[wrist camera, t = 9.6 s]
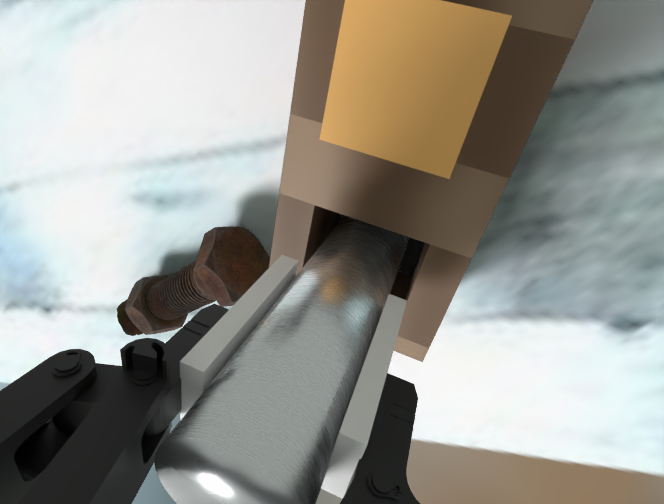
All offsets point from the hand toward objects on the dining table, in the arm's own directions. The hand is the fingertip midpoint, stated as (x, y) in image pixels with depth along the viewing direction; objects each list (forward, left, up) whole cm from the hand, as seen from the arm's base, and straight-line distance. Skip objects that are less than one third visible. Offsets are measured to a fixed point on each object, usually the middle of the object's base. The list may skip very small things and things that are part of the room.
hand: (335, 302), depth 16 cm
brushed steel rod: (0, 0, -8) cm, 8 cm away
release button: (0, +9, -7) cm, 11 cm away
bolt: (-13, -10, -9) cm, 19 cm away
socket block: (0, +4, -9) cm, 10 cm away
